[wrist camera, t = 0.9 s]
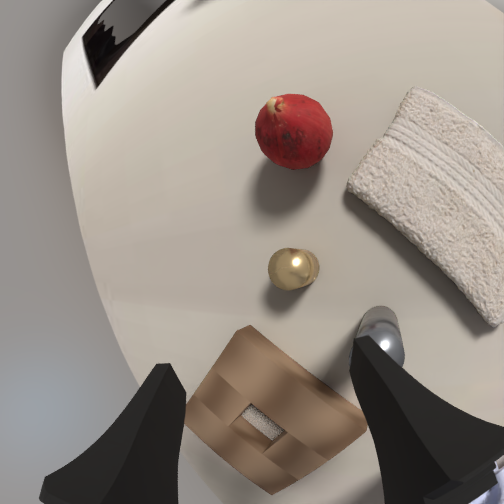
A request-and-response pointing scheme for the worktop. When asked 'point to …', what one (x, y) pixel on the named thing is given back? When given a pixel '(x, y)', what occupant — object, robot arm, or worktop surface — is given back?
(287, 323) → the worktop surface
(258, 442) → the walnut hole plate
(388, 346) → the long steel pin
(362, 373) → the robot arm
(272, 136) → the onion
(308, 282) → the short brass pin
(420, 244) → the washcloth
